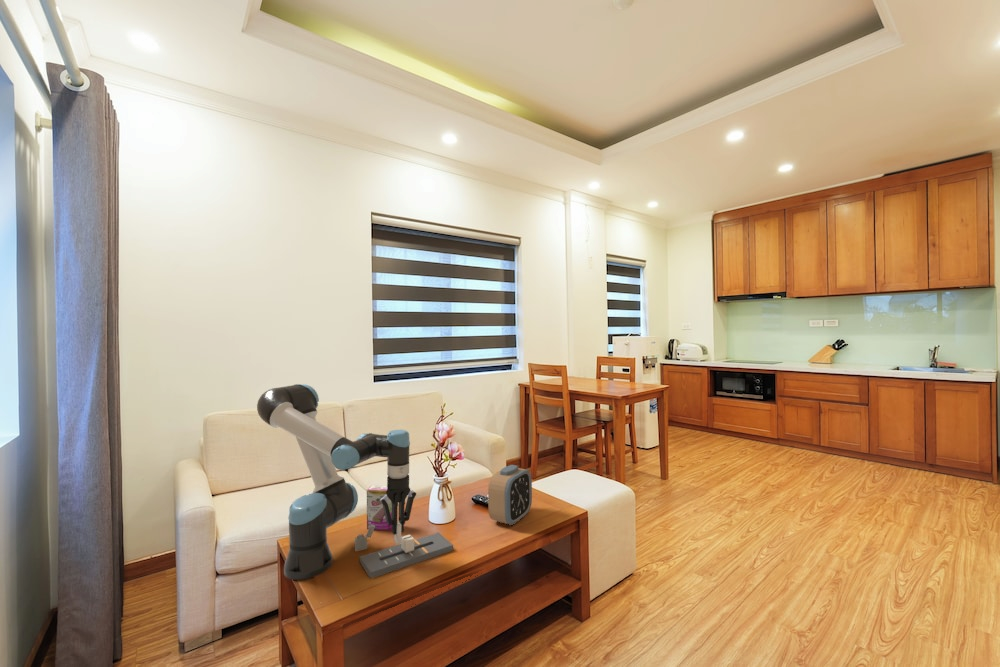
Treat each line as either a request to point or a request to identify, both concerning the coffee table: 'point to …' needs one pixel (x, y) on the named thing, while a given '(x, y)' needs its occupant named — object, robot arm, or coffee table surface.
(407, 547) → the fader knob
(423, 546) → the console
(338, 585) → the coffee table surface
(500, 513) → the alarm clock
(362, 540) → the lighter
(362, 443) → the robot arm
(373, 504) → the candy bar box
